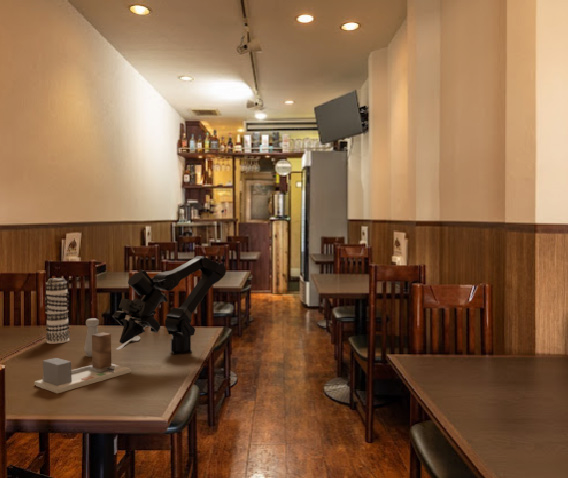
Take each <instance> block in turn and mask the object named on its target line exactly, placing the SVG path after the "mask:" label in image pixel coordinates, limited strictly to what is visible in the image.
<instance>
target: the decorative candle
mask: <svg viewBox="0 0 568 478" xmlns="http://www.w3.org/2000/svg"><path fill="white" fill-rule="evenodd" d="M67 283H68V281H67V280H66V279H65V278H63V277H54V278H48V280H47V282H45V285H46V286H45V288H46V290H45V295H44V296H45V297H44V304H45V307H44V310H45V314H46V324H45V327H46V329H45V331H46V334H45V336H46V338H45V340H46V344H51V345H52V344H54V345H55V344H63V343H67V342H69V341H70V331H69V329H70V326H69V325H70V322H69V317H68V316H69V314H68V312H69V309H68V307H70V304H68V303H70V301H69V300H68V299H69V298H70V295H69V294H70V292H69V291H68V285H67Z"/></svg>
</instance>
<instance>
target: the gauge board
mask: <svg viewBox="0 0 568 478" xmlns="http://www.w3.org/2000/svg"><path fill="white" fill-rule="evenodd" d="M112 365H113V366H115V369H114V371H111V370H108V371H104V372H97V371H94V370H90V369H89V367H90V366H93V365H92V364H90V365H87V366H82V367H79V368H74V369H72V361H70V360H66V359H62V358H58V357H54V358H48V359H44V360H42V379H38V380H35V381H34V386H35V385H36V387H38V388H41V389H43V390H46V391H49V392H52V393H55V394H60V393H65V392H67V391H70V390H74V389H78V388H80V387H85V386H88V385H91V384H94V383H95V384H96V383H98V382H102V381H106V380H109V379H112V378H116V377H118V376H123V375H127V374H130V373H131V367H126V366H122V365H118V364H114V363H112Z"/></svg>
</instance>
